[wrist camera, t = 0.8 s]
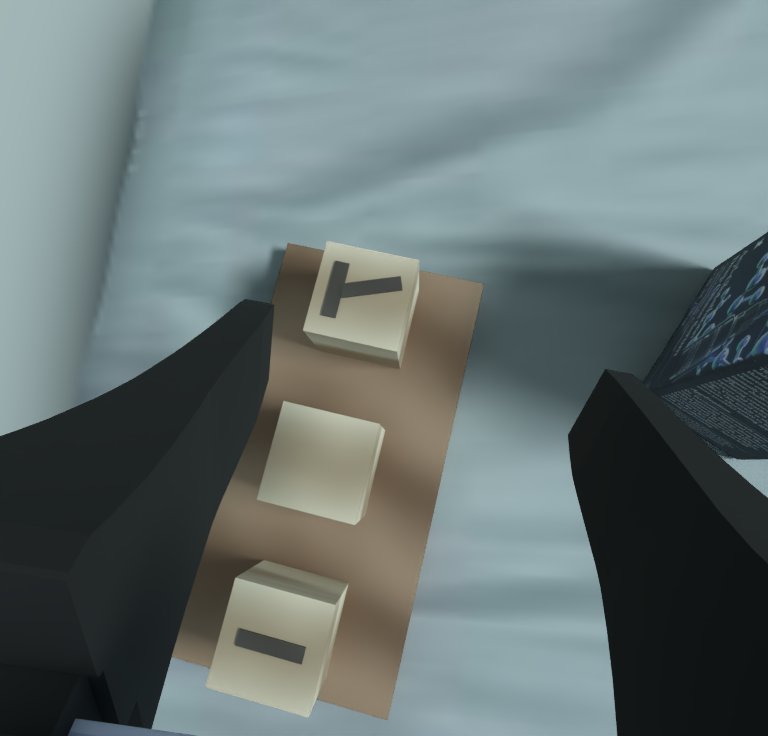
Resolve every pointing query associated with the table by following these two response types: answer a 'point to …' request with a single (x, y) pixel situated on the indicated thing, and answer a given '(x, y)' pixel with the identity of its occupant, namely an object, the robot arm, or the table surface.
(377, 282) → the letter t cube
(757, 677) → the robot arm
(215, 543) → the walnut board
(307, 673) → the block one
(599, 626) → the table surface
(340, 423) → the plain block
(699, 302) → the box
